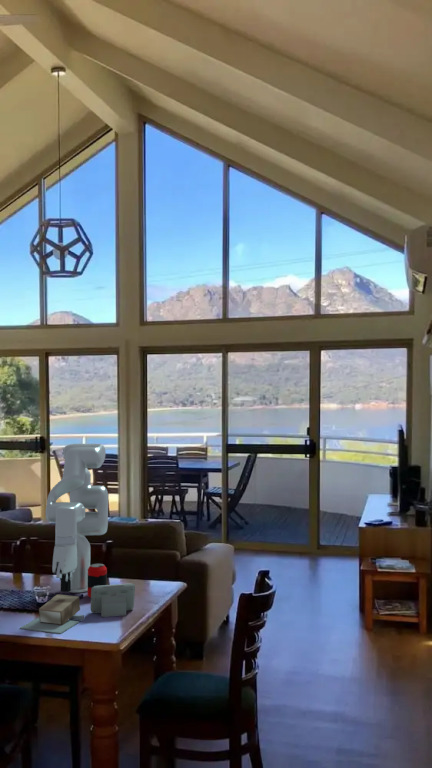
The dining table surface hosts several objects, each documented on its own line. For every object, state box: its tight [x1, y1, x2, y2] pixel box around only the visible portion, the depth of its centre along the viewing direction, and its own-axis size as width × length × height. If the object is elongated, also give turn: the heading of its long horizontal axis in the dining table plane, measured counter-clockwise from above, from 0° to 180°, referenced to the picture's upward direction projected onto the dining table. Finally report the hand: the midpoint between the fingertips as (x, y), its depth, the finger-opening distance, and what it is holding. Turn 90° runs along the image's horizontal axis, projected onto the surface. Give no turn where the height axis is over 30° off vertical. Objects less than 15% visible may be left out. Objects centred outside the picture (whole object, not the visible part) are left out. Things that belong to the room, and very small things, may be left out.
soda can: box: [87, 563, 108, 599], centre depth 261 cm, size 8×8×12 cm
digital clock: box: [90, 583, 136, 618], centre depth 239 cm, size 16×9×11 cm, turn 94°
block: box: [38, 593, 81, 625], centre depth 231 cm, size 5×9×12 cm
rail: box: [69, 613, 85, 622], centre depth 233 cm, size 2×16×2 cm, turn 71°
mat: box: [19, 617, 80, 635], centre depth 225 cm, size 12×16×1 cm
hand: (65, 591), depth 235 cm, fingers closed
